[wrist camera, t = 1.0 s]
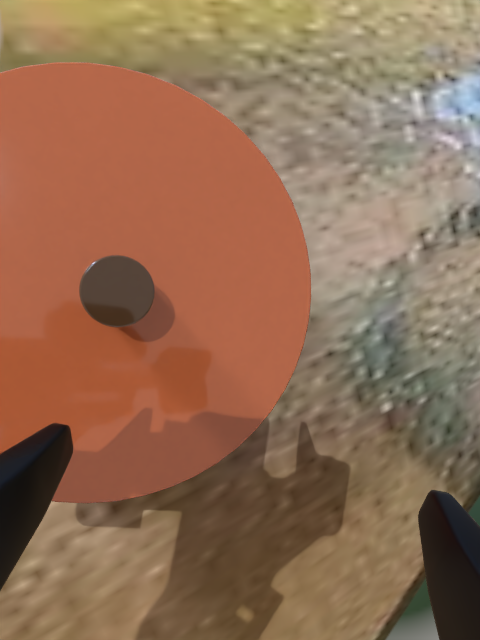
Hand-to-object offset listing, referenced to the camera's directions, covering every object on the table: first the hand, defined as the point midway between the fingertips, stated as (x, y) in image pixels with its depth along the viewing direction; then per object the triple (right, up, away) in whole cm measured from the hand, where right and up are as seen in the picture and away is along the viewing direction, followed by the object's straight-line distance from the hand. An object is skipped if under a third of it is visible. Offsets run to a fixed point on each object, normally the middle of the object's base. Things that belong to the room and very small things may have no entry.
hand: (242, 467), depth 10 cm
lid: (-6, +5, +9) cm, 11 cm away
